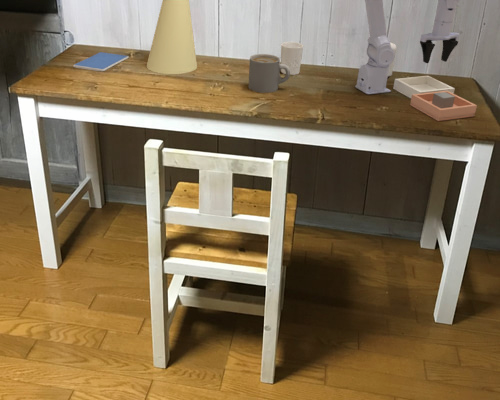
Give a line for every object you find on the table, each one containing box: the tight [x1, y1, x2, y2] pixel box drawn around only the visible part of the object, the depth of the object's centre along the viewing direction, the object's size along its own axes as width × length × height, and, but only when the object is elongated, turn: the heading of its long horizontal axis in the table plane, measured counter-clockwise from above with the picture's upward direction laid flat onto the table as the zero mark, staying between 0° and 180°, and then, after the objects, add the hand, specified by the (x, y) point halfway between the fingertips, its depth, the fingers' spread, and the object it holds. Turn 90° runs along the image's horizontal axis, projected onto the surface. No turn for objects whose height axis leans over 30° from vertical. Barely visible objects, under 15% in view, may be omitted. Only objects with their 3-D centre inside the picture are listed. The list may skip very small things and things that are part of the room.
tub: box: [392, 75, 456, 99], centre depth 191 cm, size 14×14×4 cm
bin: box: [409, 91, 478, 122], centre depth 178 cm, size 14×14×4 cm
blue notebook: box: [72, 51, 130, 72], centre depth 207 cm, size 19×13×1 cm, turn 163°
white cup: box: [280, 41, 304, 76], centre depth 203 cm, size 8×8×10 cm
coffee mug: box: [248, 53, 291, 94], centre depth 187 cm, size 13×10×10 cm
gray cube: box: [432, 92, 455, 109], centre depth 177 cm, size 4×4×4 cm
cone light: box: [146, 0, 198, 75], centre depth 200 cm, size 25×18×35 cm
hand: (434, 61), depth 192 cm, fingers open, 7 cm apart
